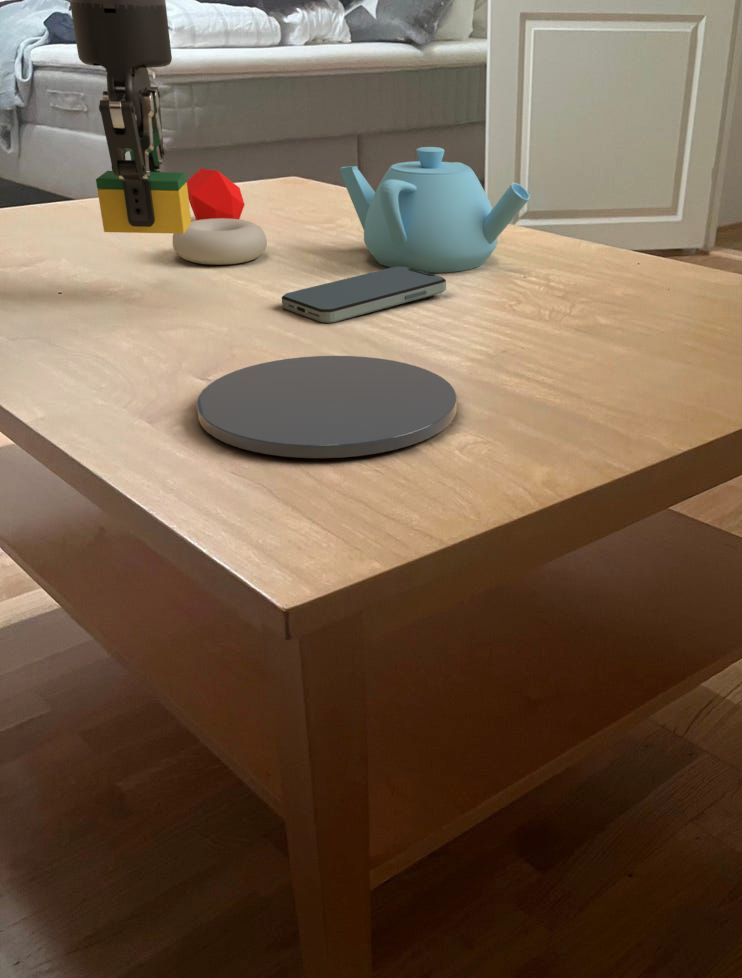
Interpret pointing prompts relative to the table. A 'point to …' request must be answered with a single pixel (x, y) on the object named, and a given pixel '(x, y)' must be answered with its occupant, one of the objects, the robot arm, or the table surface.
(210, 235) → the donut
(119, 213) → the sponge
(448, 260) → the teapot
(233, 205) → the faceted red jewel
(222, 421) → the plate
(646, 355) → the table surface
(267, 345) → the table surface
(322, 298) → the smartphone
